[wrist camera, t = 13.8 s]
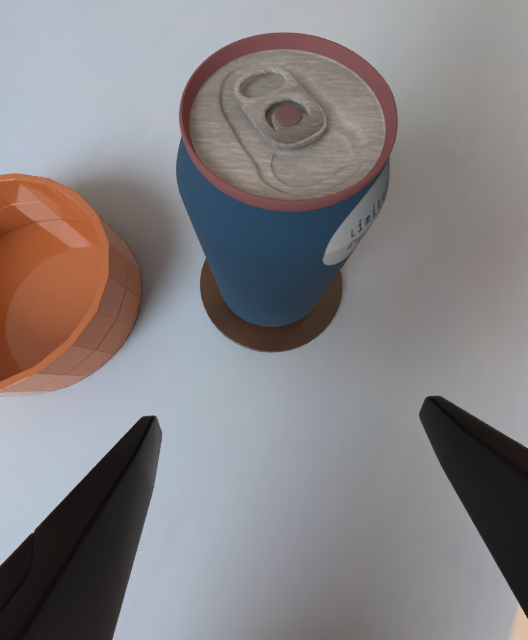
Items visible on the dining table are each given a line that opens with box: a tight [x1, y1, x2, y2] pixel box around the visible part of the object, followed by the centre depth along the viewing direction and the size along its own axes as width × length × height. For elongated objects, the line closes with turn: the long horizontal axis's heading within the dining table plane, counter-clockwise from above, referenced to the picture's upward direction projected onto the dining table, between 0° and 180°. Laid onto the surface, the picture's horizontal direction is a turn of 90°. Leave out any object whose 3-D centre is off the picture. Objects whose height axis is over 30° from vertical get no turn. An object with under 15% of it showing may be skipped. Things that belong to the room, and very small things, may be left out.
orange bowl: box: [0, 173, 142, 397], centre depth 16 cm, size 13×13×4 cm
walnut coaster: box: [200, 258, 342, 352], centre depth 19 cm, size 10×10×1 cm
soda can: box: [176, 33, 397, 327], centre depth 13 cm, size 7×7×12 cm
